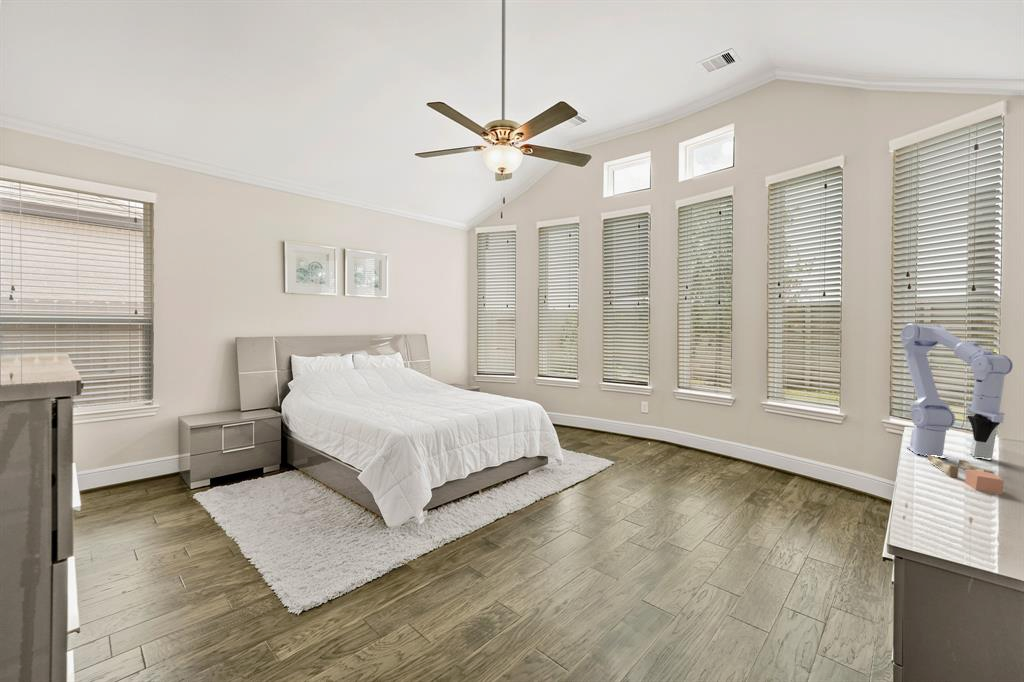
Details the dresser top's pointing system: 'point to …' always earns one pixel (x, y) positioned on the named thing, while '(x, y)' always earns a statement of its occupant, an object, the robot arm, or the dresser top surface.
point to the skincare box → (984, 446)
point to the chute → (953, 466)
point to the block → (984, 481)
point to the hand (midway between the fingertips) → (980, 441)
